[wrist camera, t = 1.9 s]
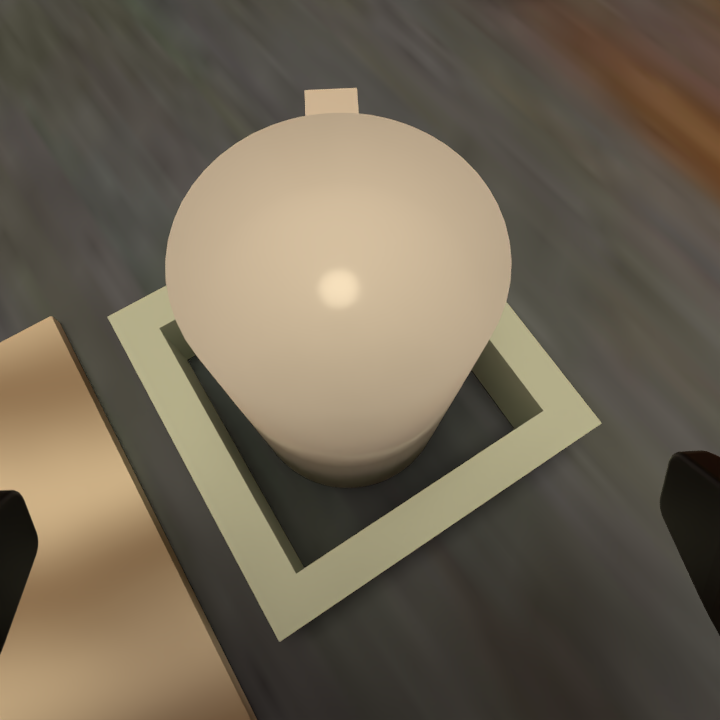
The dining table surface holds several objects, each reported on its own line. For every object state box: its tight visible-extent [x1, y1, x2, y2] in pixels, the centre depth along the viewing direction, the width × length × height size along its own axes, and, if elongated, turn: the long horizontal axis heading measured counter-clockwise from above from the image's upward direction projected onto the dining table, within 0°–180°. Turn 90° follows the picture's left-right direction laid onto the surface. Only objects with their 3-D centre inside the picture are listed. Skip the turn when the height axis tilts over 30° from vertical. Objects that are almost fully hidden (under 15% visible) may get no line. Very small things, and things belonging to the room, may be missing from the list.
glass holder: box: [108, 286, 601, 642], centre depth 19 cm, size 11×11×3 cm
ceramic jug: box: [165, 88, 511, 488], centre depth 16 cm, size 8×6×10 cm
